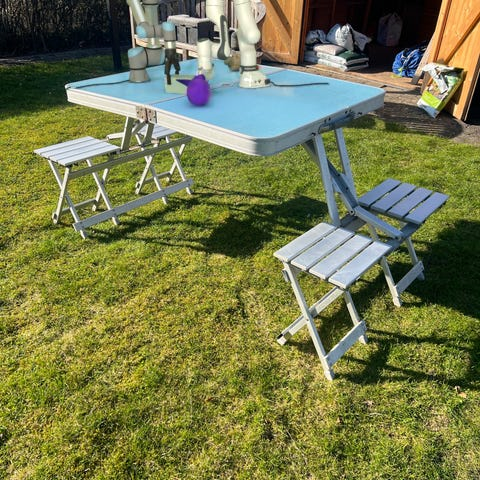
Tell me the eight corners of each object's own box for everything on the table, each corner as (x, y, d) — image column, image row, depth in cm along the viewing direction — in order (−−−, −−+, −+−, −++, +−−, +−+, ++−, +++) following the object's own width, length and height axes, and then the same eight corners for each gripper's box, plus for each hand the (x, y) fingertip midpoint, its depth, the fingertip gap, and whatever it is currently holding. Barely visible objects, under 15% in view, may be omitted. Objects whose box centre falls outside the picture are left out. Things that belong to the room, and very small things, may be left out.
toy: (199, 96, 289) (211, 111, 269) (173, 92, 282) (183, 107, 261) (204, 71, 281) (217, 85, 261) (177, 66, 274) (188, 79, 253)
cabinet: (199, 90, 306) (198, 75, 301) (192, 94, 297) (191, 78, 292) (173, 89, 312) (172, 74, 307) (165, 92, 303) (164, 77, 298)
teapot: (227, 73, 361) (227, 53, 353) (221, 70, 369) (220, 51, 362) (250, 70, 370) (250, 50, 362) (243, 68, 378) (242, 49, 371)
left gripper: (166, 50, 282) (170, 86, 293) (183, 46, 301) (186, 79, 312) (156, 50, 285) (160, 86, 296) (173, 45, 304) (176, 79, 315)
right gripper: (202, 68, 281) (203, 91, 288) (215, 63, 298) (216, 85, 305) (193, 68, 283) (194, 90, 290) (206, 63, 300) (207, 84, 307)
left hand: (173, 82), depth 304 cm, fingers closed on cabinet, 11 cm apart
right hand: (205, 87), depth 298 cm, fingers closed, pressing on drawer
